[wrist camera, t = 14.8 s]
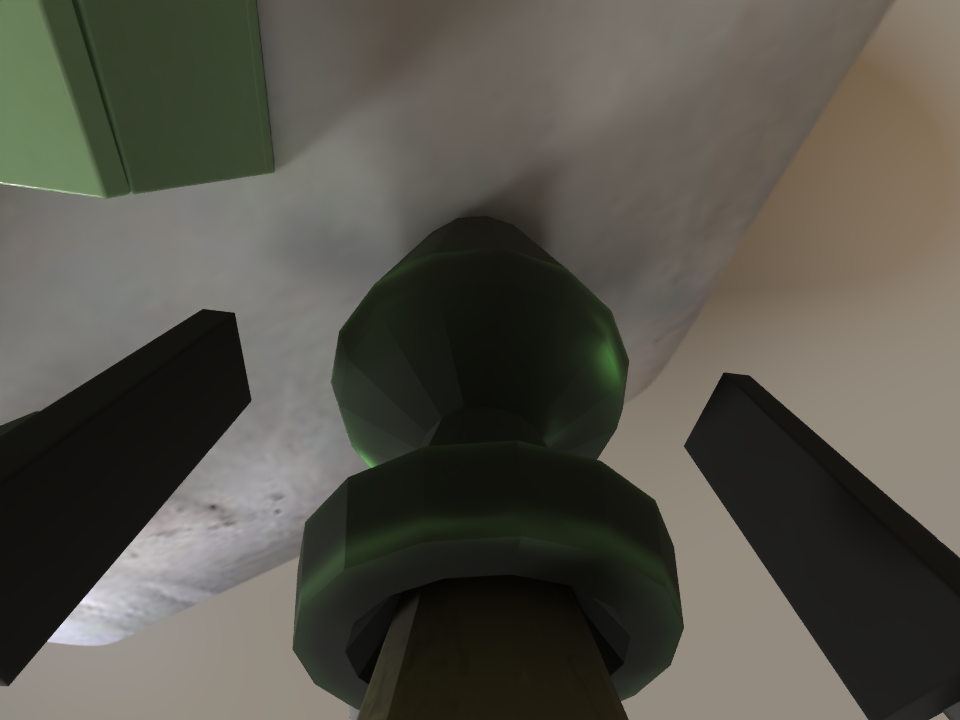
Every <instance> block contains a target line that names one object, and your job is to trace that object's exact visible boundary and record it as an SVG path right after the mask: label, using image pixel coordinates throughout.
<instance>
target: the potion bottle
mask: <svg viewBox="0 0 960 720" xmlns="http://www.w3.org/2000/svg"><path fill="white" fill-rule="evenodd" d="M628 366H629V359H628V356H627V353H626V350H625V348H624V345H623V342H622V339H621V336H620V334H619V331H618V328H617V325H616V322H615V320H614V317H613V314H612V311H611V310H610V309H609V308H608V307H607V306H606V305H605V304H603V303H602V302H601V301H600V300H599V299H598V298H597V297H596V296H595V295H594V294H593V293H592V292H591V291H590V290H589V289H587V288H586V287H585V286H584V285H583V284H582V283H581V282H580V281H579V280H578V279H577V278H576V277H575V276H574V275H573V274H571V273H570V272H569V271H568V270H567V269H566V268H565V267H564V266H562V265H561V264H560V263H559V262H557V261H556V260H555V259H554V258H553V257H551V256H550V255H549V254H548V253H547V252H545V251H544V250H543V249H542V248H540V247H539V246H538V245H537V244H536V243H534V242H533V241H532V240H531V239H530V238H528V237H527V236H526V235H525V234H523V233H522V232H521V231H520V230H519V229H517V228H516V227H515V226H514V225H511V224H508V223H505V222H502V221H499V220H496V219H493V218H491V217H488V216H482V217H469V218H458V219H456V220H454V221H452V222H450V223H448V224H447V225H445V226H443V227H441V228H439V229H437V230H435V231H434V232H432V233H431V234H430V235H429V236H428V237H427V238H425V239H424V240H423V241H422V242H421V243H420V244H419V245H418V246H417V247H415V248H414V249H413V250H412V251H411V252H410V253H409V254H408V255H407V256H405V257H404V258H403V259H402V260H401V261H400V262H399V263H398V264H397V265H395V266H394V267H393V268H392V269H391V270H390V271H389V272H388V273H387V274H385V275H384V276H383V277H382V278H381V279H380V280H379V281H378V282H377V283H375V284H374V286H373V287H372V288H371V290H370V291H369V292H368V294H367V295H366V296H365V298H364V299H363V300H362V302H361V303H360V304H359V306H358V307H357V308H356V310H355V311H354V312H353V314H352V315H351V316H350V318H349V319H348V320H347V322H346V323H345V324H344V326H343V327H342V328H341V330H340V331H339V336H338V342H337V349H336V355H335V361H334V367H333V373H332V379H331V384H332V387H333V390H334V393H335V396H336V399H337V402H338V406H339V409H340V412H341V415H342V418H343V421H344V424H345V428H346V430H347V433H348V436H349V439H350V441H351V444H352V447H353V448H354V449H355V450H356V451H357V453H358V454H359V455H360V456H361V457H362V458H363V459H364V460H365V461H366V463H367V464H368V465H369V466H370V467H371V468H370V469H368V470H365V471H363V472H360V473H358V474H355V475H353V476H350V477H348V478H347V479H346V480H345V481H344V482H343V483H342V484H341V485H340V486H339V487H338V489H337V490H336V491H335V492H334V493H333V494H332V495H331V496H330V497H329V498H328V499H327V500H326V501H325V502H324V503H323V504H322V505H321V506H320V507H319V508H318V509H317V511H316V512H315V513H314V514H313V515H312V516H311V517H310V518H309V519H308V520H307V521H306V522H305V527H304V533H303V540H302V546H301V552H300V559H299V565H298V574H297V591H296V605H295V621H294V636H293V651H294V652H295V654H296V655H297V657H298V658H299V660H300V661H301V663H302V665H303V666H304V668H305V669H306V671H307V672H308V674H309V675H310V677H311V679H312V680H313V682H314V683H315V684H316V685H318V686H319V687H321V688H322V689H324V690H326V691H328V692H329V693H331V694H332V695H334V696H336V697H337V698H339V699H341V700H342V701H344V702H345V703H347V704H349V705H350V706H352V707H353V708H355V709H357V710H360V711H359V714H358V717H357V720H628V717H627V715H626V712H625V711H624V708H623V705H622V703H621V701H623V700H625V699H627V698H630V697H632V696H634V695H636V694H637V693H638V692H639V691H640V690H641V689H642V688H644V687H645V686H646V685H647V684H649V683H650V682H651V681H652V680H653V679H654V678H656V677H657V676H658V675H659V674H661V673H662V672H663V671H664V670H665V669H666V668H668V667H669V666H670V665H671V662H672V660H673V657H674V654H675V651H676V648H677V646H678V643H679V640H680V637H681V635H682V632H683V629H684V625H683V617H682V608H681V600H680V592H679V584H678V577H677V568H676V561H675V553H674V546H673V543H672V541H671V538H670V536H669V533H668V531H667V528H666V526H665V523H664V521H663V518H662V516H661V513H660V511H659V508H658V506H657V504H656V501H655V500H654V499H653V498H651V497H650V496H648V495H647V494H646V493H644V492H643V491H642V490H640V489H639V488H637V487H636V486H635V485H633V484H632V483H630V482H629V481H628V480H626V479H625V478H624V477H622V476H621V475H620V474H618V473H617V472H615V471H614V470H613V469H611V468H610V467H609V466H607V465H606V464H604V463H603V462H601V461H599V460H597V459H598V457H599V456H600V454H601V452H602V451H603V449H604V448H605V446H606V445H607V443H608V442H609V440H610V438H611V437H612V435H613V434H614V432H615V430H616V429H617V426H618V422H619V419H620V416H621V413H622V409H623V403H624V395H625V388H626V381H627V373H628Z"/></svg>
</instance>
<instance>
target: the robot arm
mask: <svg viewBox="0 0 960 720" xmlns="http://www.w3.org/2000/svg"><path fill="white" fill-rule="evenodd" d="M250 402H251V395H250V390H249V385H248V380H247V374H246V369H245V364H244V359H243V354H242V348H241V343H240V338H239V333H238V328H237V322H236V317H235V313H231V312H223V311H215V310H207V309H202V310H201V311H199V312H197V313H196V314H194V315H193V316H191V317H189V318H188V319H186V320H185V321H183V322H181V323H180V324H178V325H177V326H175V327H174V328H172V329H170V330H169V331H167V332H166V333H164V334H162V335H161V336H159V337H158V338H156V339H154V340H153V341H151V342H150V343H148V344H146V345H145V346H143V347H142V348H140V349H139V350H137V351H135V352H134V353H132V354H131V355H129V356H127V357H126V358H124V359H123V360H121V361H119V362H118V363H116V364H115V365H113V366H111V367H110V368H108V369H107V370H105V371H104V372H102V373H100V374H99V375H97V376H96V377H94V378H92V379H91V380H89V381H88V382H86V383H84V384H83V385H81V386H80V387H78V388H76V389H75V390H73V391H72V392H70V393H68V394H67V395H65V396H64V397H62V398H61V399H59V400H57V401H56V402H54V403H53V404H51V405H49V406H48V407H46V408H45V409H43V410H41V411H40V412H38V411H36V412H33V413H31V414H29V415H26V416H24V417H21V418H19V419H16V420H14V421H11V422H9V423H6V424H4V425H1V426H0V686H9V685H10V684H11V683H12V682H13V680H14V679H15V678H16V677H17V676H18V675H19V673H20V672H21V671H22V670H23V668H25V666H26V665H27V664H28V663H29V662H30V660H31V659H32V658H33V657H34V656H35V654H36V653H37V652H38V651H39V650H40V649H41V648H42V646H43V645H44V644H45V643H46V642H47V640H48V639H49V638H50V637H51V636H52V635H53V633H54V632H55V631H56V630H57V629H58V628H59V626H60V625H61V624H62V623H63V622H64V621H65V619H66V618H67V617H68V616H69V615H70V613H71V612H72V611H73V610H74V609H75V608H76V606H77V605H78V604H79V603H80V602H81V601H82V599H83V598H84V597H85V596H86V595H87V594H88V592H89V591H90V590H91V589H92V588H93V586H94V585H95V584H96V583H97V582H98V581H99V579H100V578H101V577H102V576H103V575H104V574H105V572H106V571H107V570H108V569H109V568H110V566H111V565H112V564H113V563H114V562H115V561H116V559H117V558H118V557H119V556H120V555H121V554H122V552H123V551H124V550H125V549H126V548H127V547H128V545H129V544H130V543H131V542H132V541H133V539H134V538H135V537H136V536H137V535H138V534H139V532H140V531H141V530H142V529H143V528H144V527H145V525H146V524H147V523H148V522H149V521H150V520H151V518H152V517H153V516H154V515H155V514H156V512H157V511H158V510H159V509H160V508H161V507H162V505H163V504H164V503H165V502H166V501H167V500H168V498H169V497H170V496H171V495H172V494H173V493H174V491H175V490H176V489H177V488H178V487H179V485H180V484H181V483H182V482H183V481H184V480H185V478H186V477H187V476H188V475H189V474H190V473H191V471H192V470H193V469H194V468H195V467H196V465H197V464H198V463H199V462H200V461H201V460H202V458H203V457H204V456H205V455H206V454H207V453H208V451H209V450H210V449H211V448H212V447H213V446H214V444H215V443H216V442H217V441H218V440H219V438H220V437H221V436H222V435H223V434H224V433H225V431H226V430H227V429H228V428H229V427H230V426H231V424H232V423H233V422H234V421H235V420H236V419H237V417H238V416H239V415H240V414H241V413H242V411H243V410H244V409H245V408H246V407H247V406H248V404H249V403H250ZM684 447H685V448H686V450H687V451H688V453H689V454H690V456H691V457H692V459H693V460H694V462H695V463H696V465H697V466H698V468H699V469H700V471H701V472H702V474H703V475H704V477H705V478H706V480H707V481H708V483H709V484H710V486H711V487H712V489H713V490H714V492H715V493H716V495H717V496H718V497H719V499H720V500H721V502H722V503H723V505H724V506H725V508H726V509H727V511H728V512H729V514H730V515H731V517H732V518H733V520H734V521H735V523H736V524H737V525H738V527H739V528H740V530H741V531H742V533H743V535H744V536H745V537H746V539H747V540H748V542H749V543H750V545H751V546H752V548H753V549H754V551H755V552H756V554H757V555H758V557H759V558H760V560H761V561H762V563H763V564H764V566H765V567H766V569H767V570H768V572H769V573H770V574H771V576H772V577H773V579H774V580H775V582H776V583H777V585H778V586H779V588H780V589H781V591H782V592H783V594H784V595H785V597H786V598H787V600H788V601H789V603H790V604H791V606H792V607H793V609H794V610H795V612H796V613H797V615H798V616H799V617H800V619H801V620H802V622H803V623H804V625H805V626H806V628H807V629H808V631H809V632H810V634H811V635H812V637H813V638H814V640H815V641H816V643H817V644H818V646H819V647H820V649H821V650H822V651H823V653H824V655H825V656H826V658H827V659H828V660H829V662H830V663H831V665H832V666H833V668H834V669H835V671H836V672H837V674H838V675H839V677H840V678H841V680H842V681H843V683H844V684H845V686H846V687H847V689H848V690H849V692H850V693H851V695H852V696H853V698H854V699H855V700H856V702H857V703H858V705H859V706H860V708H861V709H862V711H863V712H864V714H865V715H866V717H867V718H868V720H929V719H931V718H933V717H935V716H937V715H939V714H940V713H942V712H943V713H944V714H945V715H946V716H947V718H948V719H949V720H960V558H959V557H958V556H957V555H956V554H955V553H954V552H953V551H951V550H950V549H949V548H948V547H947V546H946V545H944V544H943V543H941V542H940V541H939V540H938V539H937V538H936V537H935V536H934V535H933V534H932V533H931V532H929V531H928V530H927V529H926V528H925V527H924V526H923V525H921V524H920V523H919V522H918V521H917V520H916V519H915V518H913V517H912V516H911V515H910V514H908V513H907V512H906V511H905V510H903V509H902V508H901V507H900V506H899V505H898V504H896V503H895V502H894V501H893V500H892V499H891V498H890V497H888V496H887V495H886V494H885V493H884V492H883V491H882V490H880V489H879V488H878V487H877V486H876V485H875V484H873V483H872V482H871V481H870V480H869V479H868V478H867V477H865V476H864V475H863V474H862V473H861V472H859V470H857V469H856V468H855V467H854V466H853V465H851V464H850V463H849V462H848V461H847V460H846V459H845V458H844V457H842V456H841V455H840V454H839V453H838V452H837V451H836V450H834V449H833V448H832V447H831V446H830V445H829V444H827V443H826V442H825V441H824V440H823V439H822V438H820V437H819V436H818V435H817V434H816V433H815V432H814V431H813V430H811V429H810V428H809V427H808V426H807V425H806V424H804V423H803V422H802V421H801V420H800V419H799V418H798V417H796V416H795V415H794V414H793V413H792V412H790V410H788V409H787V408H786V407H785V406H784V405H783V404H781V403H780V402H779V401H778V400H777V399H776V398H774V397H773V396H772V395H771V394H770V393H769V392H767V391H766V390H765V389H764V388H763V387H762V386H760V384H758V383H757V382H756V381H755V380H754V379H753V378H752V377H750V376H749V375H740V374H732V373H723V375H722V377H721V379H720V380H719V382H718V384H717V386H716V388H715V390H714V391H713V393H712V395H711V397H710V399H709V401H708V403H707V404H706V406H705V408H704V410H703V412H702V414H701V415H700V417H699V419H698V421H697V423H696V425H695V427H694V428H693V430H692V432H691V434H690V436H689V438H688V439H687V441H686V443H685V445H684ZM359 711H360V710H357V709H355V708H353V707H352V706H350V705H349V718H350V720H357V717H358V714H359Z"/></svg>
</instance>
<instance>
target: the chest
mask: <svg viewBox="0 0 960 720" xmlns="http://www.w3.org/2000/svg"><path fill="white" fill-rule="evenodd" d="M72 3H73V6H74V9H75V12H76V16H77V19H78V22H79V26H80V29H81V32H82V35H83V39H84V42H85V45H86V49H87V52H88V55H89V58H90V62H91V65H92V68H93V72H94V75H95V78H96V81H97V85H98V88H99V91H100V94H101V98H102V101H103V104H104V108H105V111H106V114H107V117H108V121H109V124H110V127H111V131H112V134H113V137H114V140H115V144H116V147H117V150H118V154H119V157H120V160H121V163H122V167H123V170H124V173H125V177H126V180H127V183H128V186H129V190H130V193H129V194H138V193H145V192H151V191H158V190H164V189H171V188H177V187H184V186H190V185H197V184H203V183H210V182H216V181H223V180H230V179H236V178H243V177H249V176H256V175H262V174H268V173H274V162H273V153H272V144H271V135H270V126H269V117H268V108H267V98H266V89H265V80H264V71H263V62H262V53H261V44H260V34H259V25H258V16H257V7H256V0H72Z"/></svg>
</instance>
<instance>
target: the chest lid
mask: <svg viewBox="0 0 960 720" xmlns="http://www.w3.org/2000/svg"><path fill="white" fill-rule="evenodd" d="M0 184H3V185H10V186H17V187H24V188H32V189H39V190H46V191H53V192H60V193H67V194H74V195H82V196H89V197H96V198H103V199H107V198H112V197H118V196H123V195H127V194H129V193H130V190H129V186H128V183H127V180H126V177H125V173H124V170H123V167H122V163H121V160H120V157H119V154H118V150H117V147H116V144H115V140H114V137H113V134H112V131H111V127H110V124H109V121H108V117H107V114H106V111H105V108H104V104H103V101H102V98H101V94H100V91H99V88H98V85H97V81H96V78H95V75H94V72H93V68H92V65H91V62H90V58H89V55H88V52H87V49H86V45H85V42H84V39H83V35H82V32H81V29H80V26H79V22H78V19H77V16H76V12H75V9H74V6H73V3H72V0H0Z"/></svg>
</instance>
